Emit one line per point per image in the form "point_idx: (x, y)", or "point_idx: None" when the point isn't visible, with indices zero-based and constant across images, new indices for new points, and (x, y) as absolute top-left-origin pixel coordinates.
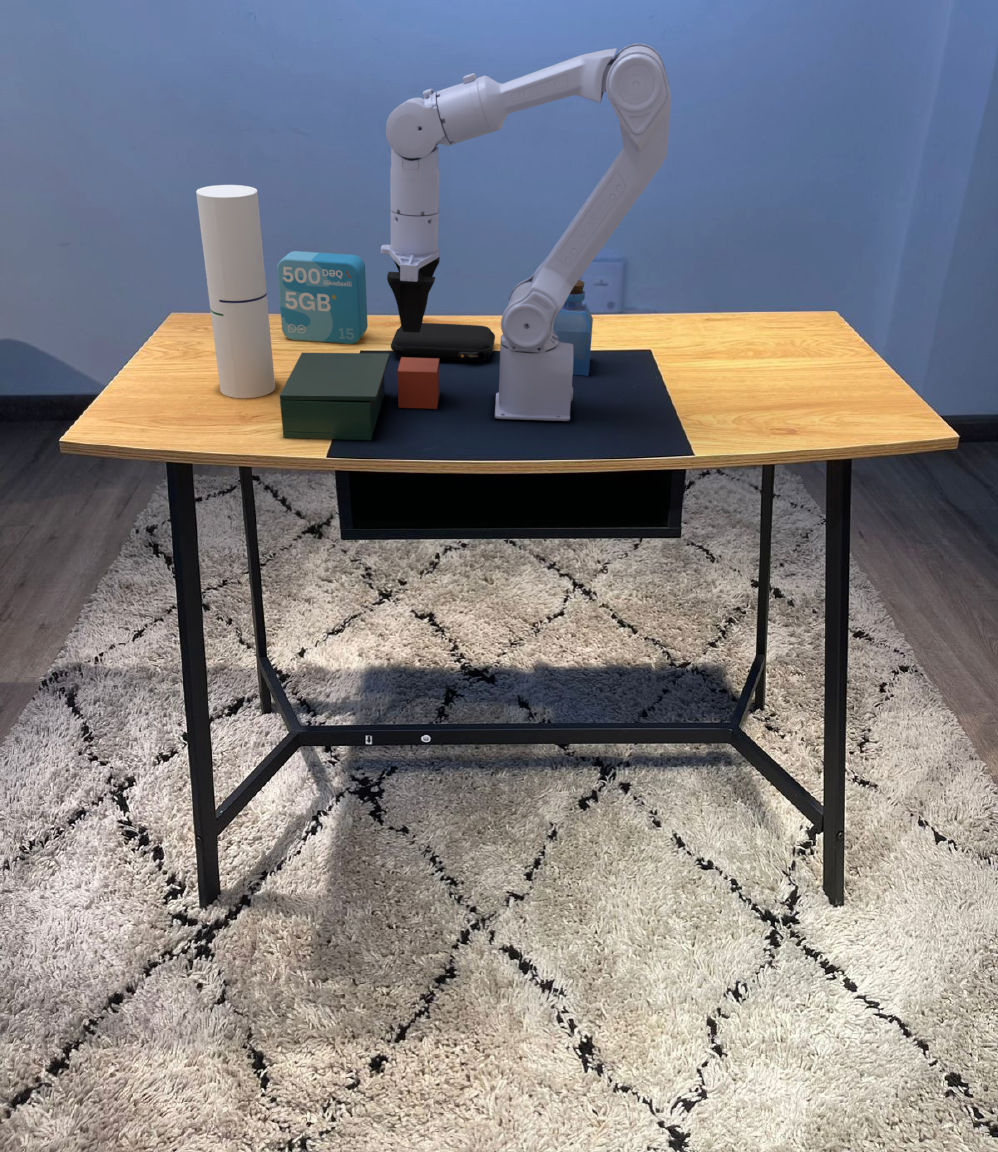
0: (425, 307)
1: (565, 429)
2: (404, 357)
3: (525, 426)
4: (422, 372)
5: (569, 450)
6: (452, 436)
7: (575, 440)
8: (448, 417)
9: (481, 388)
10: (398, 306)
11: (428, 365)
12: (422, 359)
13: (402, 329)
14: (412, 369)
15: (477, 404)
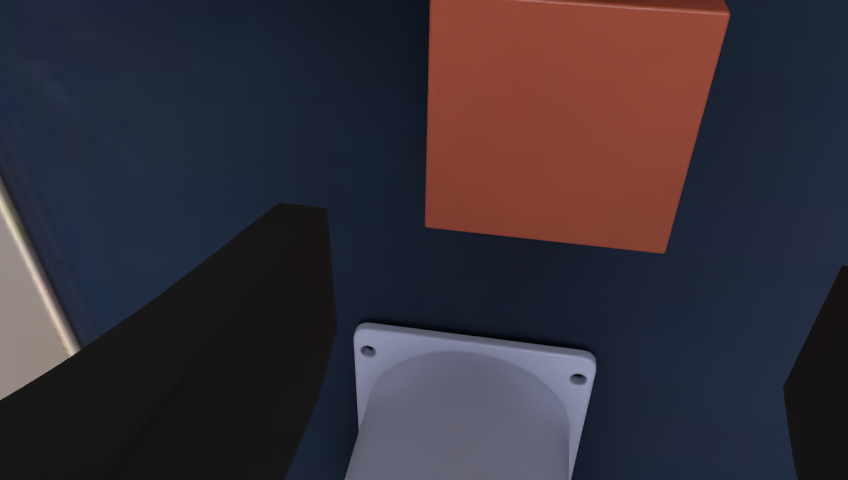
0: (799, 473)
1: (318, 467)
2: (720, 37)
3: (322, 387)
4: (428, 150)
5: None
6: (183, 169)
7: None
8: (367, 165)
9: (700, 309)
10: (57, 370)
11: (535, 190)
12: (654, 160)
13: (271, 209)
14: (463, 94)
15: (514, 278)
